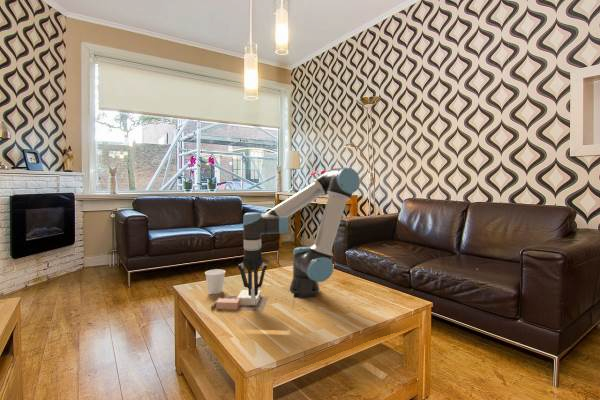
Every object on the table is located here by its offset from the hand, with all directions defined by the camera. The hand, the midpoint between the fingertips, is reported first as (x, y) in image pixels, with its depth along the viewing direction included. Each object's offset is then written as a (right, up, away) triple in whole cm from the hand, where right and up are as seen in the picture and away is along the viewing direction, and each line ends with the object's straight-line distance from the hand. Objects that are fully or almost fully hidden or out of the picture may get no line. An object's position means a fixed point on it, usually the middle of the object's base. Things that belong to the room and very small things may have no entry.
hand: (253, 302), depth 138 cm
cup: (-22, -2, +20) cm, 30 cm away
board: (-6, -3, +6) cm, 9 cm away
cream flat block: (-3, -2, +8) cm, 9 cm away
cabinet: (-11, -2, 0) cm, 11 cm away
